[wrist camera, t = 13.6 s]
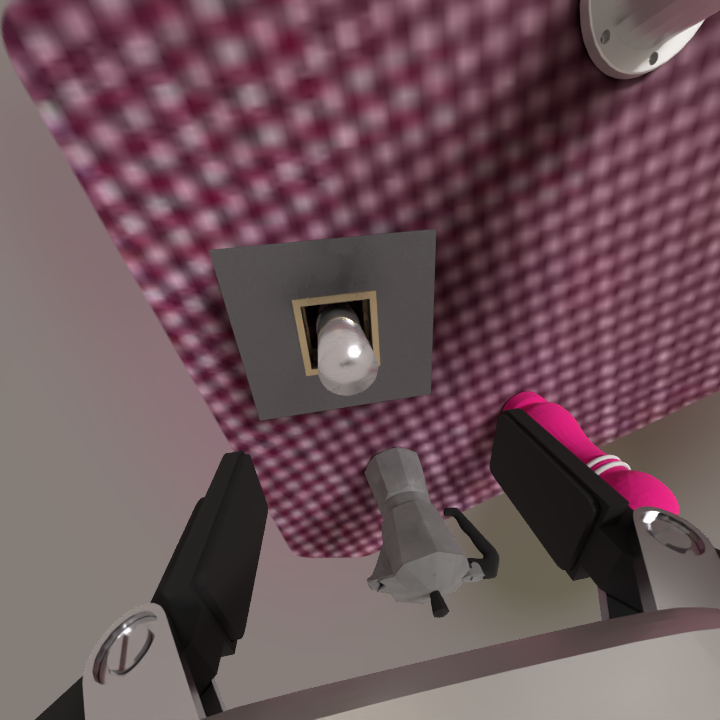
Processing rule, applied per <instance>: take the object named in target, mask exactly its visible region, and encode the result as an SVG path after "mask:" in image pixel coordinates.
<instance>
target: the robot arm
mask: <svg viewBox="0 0 720 720" xmlns="http://www.w3.org/2000/svg"><path fill="white" fill-rule="evenodd" d="M718 11H720V0H580V22H581V30H582V35H583V40H584V44H585V46H586V49H587V51H588V54H589V56H590V58H591V59H592V61H593V62H594V64H595V65H596V67H597V68H599V69H600V70H601V71H602V72H603V73H604V74H606V75H608V76H611V77H613V78H615V79H631V78H636V77H639V76H642V75H644V74H646V73H648V72H650V71H652V70H654V69H656V68H658V67H659V66H661V65H663V64H665V63H666V62H668V61H669V60H670V59H671V58H672V57H674V56H675V55H676V54H677V53H678V52H680V50H681V49H682V48H683V47H684V46H685V45H686V44H687V43H688V42H689V41H690V39H691V38H692V37H693V36H694V34H695V33H696V31H697V30H698V29H699V27H700V26H701V25H702V23H703V22H704V20H705V19H706V18H708V17H710V16H711V15H713V14H715V13H717V12H718ZM490 470H491V473H492V475H493V476H494V478H495V479H496V481H497V482H498V483H499V485H500V486H501V488H502V489H503V490H504V492H505V493H506V495H507V496H508V497H509V499H510V500H511V502H512V503H513V504H514V506H515V507H516V509H517V510H518V511H519V513H520V514H521V516H522V517H523V518H524V520H525V521H526V522H527V524H528V525H529V527H530V528H531V529H532V531H533V532H534V534H535V535H536V536H537V538H538V539H539V541H540V542H541V543H542V545H543V546H544V548H545V549H546V550H547V552H548V553H549V555H550V556H551V558H552V559H553V560H554V562H555V563H556V564H557V566H559V567H560V568H561V569H562V570H565V571H566V572H567V573H568V575H569V576H570V578H571V579H572V580H573V581H574V580H578V579H584V578H588V577H591V578H592V580H593V581H594V582H595V584H596V585H597V586H598V594H599V603H600V610H601V618H602V621H599V622H594V623H590V624H585V625H581V626H576V627H572V628H567V629H563V630H559V631H554V632H550V633H546V634H541V635H537V636H532V637H528V638H523V639H519V640H514V641H510V642H506V643H501V644H497V645H493V646H489V647H484V648H480V649H475V650H471V651H467V652H462V653H458V654H454V655H449V656H445V657H441V658H436V659H432V660H428V661H424V662H419V663H415V664H411V665H406V666H402V667H398V668H394V669H389V670H385V671H381V672H377V673H373V674H368V675H364V676H360V677H356V678H352V679H348V680H343V681H339V682H335V683H331V684H326V685H322V686H318V687H314V688H310V689H306V690H301V691H297V692H294V693H290V694H286V695H282V696H278V697H275V698H271V699H267V700H264V701H259V702H255V703H252V704H248V705H244V706H240V707H236V708H233V709H230V710H227V709H226V706H225V704H224V702H223V699H222V696H221V694H220V691H219V688H218V686H217V683H216V681H215V678H214V677H215V676H216V674H217V671H218V667H219V662H220V658H221V657H223V656H228V655H232V654H235V648H236V644H237V640H238V639H241V638H242V637H243V635H244V632H245V628H246V623H247V617H248V612H249V607H250V602H251V597H252V591H253V586H254V581H255V576H256V571H257V566H258V561H259V555H260V550H261V545H262V539H263V535H264V530H265V524H266V519H267V514H268V506H267V502H266V499H265V496H264V493H263V491H262V488H261V485H260V482H259V479H258V476H257V474H256V471H255V468H254V465H253V462H252V459H251V457H250V455H249V454H246V455H245V453H244V452H243V451H238V452H232V453H226V454H225V455H224V456H223V458H222V460H221V462H220V465H219V467H218V469H217V471H216V473H215V476H214V478H213V480H212V482H211V485H210V487H209V489H208V491H207V494H206V496H205V497H204V498H201V499H200V500H199V501H198V503H197V504H196V506H195V508H194V510H193V512H192V515H191V517H190V519H189V521H188V523H187V526H186V528H185V530H184V532H183V534H182V536H181V538H180V540H179V543H178V545H177V547H176V549H175V551H174V553H173V556H172V558H171V560H170V562H169V564H168V566H167V568H166V571H165V573H164V575H163V577H162V579H161V581H160V583H159V586H158V588H157V590H156V592H155V594H154V596H153V598H152V601H151V603H148V604H143V605H140V606H138V607H136V608H133V609H132V610H130V611H129V612H127V613H126V614H124V615H123V616H121V617H120V618H119V619H118V620H117V621H116V622H115V623H114V624H113V625H111V626H110V627H109V629H108V630H107V631H106V632H105V634H104V635H103V636H102V637H101V638H100V639H99V641H98V642H97V644H96V646H95V647H94V649H93V651H92V652H91V654H90V656H89V658H88V661H87V664H86V666H85V668H84V674H83V676H82V677H81V678H80V679H79V680H78V681H77V682H76V683H75V684H74V685H72V686H71V687H70V688H69V689H68V690H67V691H66V692H65V693H64V694H63V695H61V696H60V697H59V698H58V699H57V700H56V701H55V702H54V703H53V704H52V705H51V706H49V708H47V709H46V710H45V711H44V712H43V713H42V714H41V715H40V716H39V717H37V718H36V719H35V720H720V550H718V549H716V548H714V546H713V545H712V544H711V542H710V541H709V539H708V538H707V537H706V536H705V535H704V534H703V533H702V532H701V531H700V530H699V529H698V528H696V527H695V526H694V525H692V524H691V523H689V522H688V521H687V520H685V519H683V518H681V517H679V516H678V515H676V514H674V513H671V512H669V511H666V510H664V509H660V508H656V507H651V506H642V507H639V508H636V510H635V511H634V510H633V509H632V508H631V507H630V506H628V505H629V503H630V502H629V501H628V500H626V499H625V498H624V497H623V496H622V495H621V494H619V493H618V492H617V491H616V490H615V489H614V488H613V487H611V486H610V485H609V484H608V483H607V482H606V481H604V480H603V479H602V478H601V477H600V476H599V475H598V474H596V473H595V472H594V471H593V470H592V469H591V468H589V467H588V466H587V465H586V464H585V463H584V462H582V461H581V460H580V459H579V458H578V457H577V456H576V455H574V454H573V453H572V452H571V451H570V450H569V449H567V448H566V447H565V446H564V445H563V444H562V443H561V442H559V441H558V440H557V439H556V438H555V437H554V436H552V435H551V434H550V433H549V432H548V431H547V430H546V429H544V428H543V427H542V426H541V425H540V424H539V423H537V422H536V421H535V420H534V419H533V418H532V417H531V416H529V415H528V414H527V413H526V412H525V411H524V410H522V409H520V408H516V409H509V410H504V411H503V412H502V414H501V415H499V417H498V421H497V427H496V432H495V438H494V444H493V449H492V455H491V460H490Z"/></svg>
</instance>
